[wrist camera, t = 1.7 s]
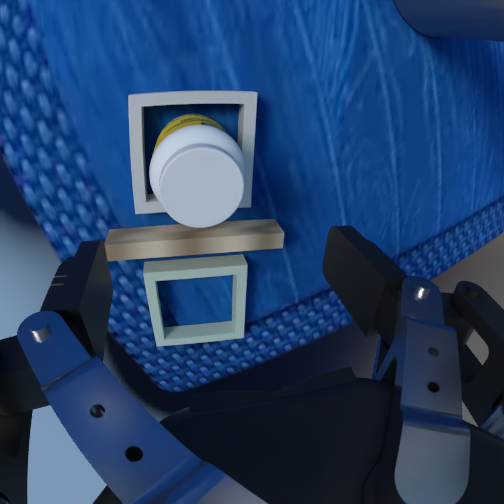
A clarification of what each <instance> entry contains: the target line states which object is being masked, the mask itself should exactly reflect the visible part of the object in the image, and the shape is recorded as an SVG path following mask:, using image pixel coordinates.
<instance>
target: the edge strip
mask: <svg viewBox="0 0 504 504" xmlns="http://www.w3.org/2000/svg"><path fill="white" fill-rule="evenodd" d="M283 241H284V231H283V230H282V229H281V227H280V226H279V224H278V223H277V221H276V220H275V219H261V220H241V221H224V222H221V223H219V224H217V225H214V226H211V227H205V228H195V227H189V226H186V225H183V224H177V225H162V226H149V227H136V228H124V229H112V230H109V232H108V235H107V238H106V241H105V244H104V245H105V249H106V255H107V260H108V261H117V260H130V259H143V258H156V257H170V256H183V255H196V254H210V253H223V252H237V251H250V250H264V249H277V248H283Z"/></svg>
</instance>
